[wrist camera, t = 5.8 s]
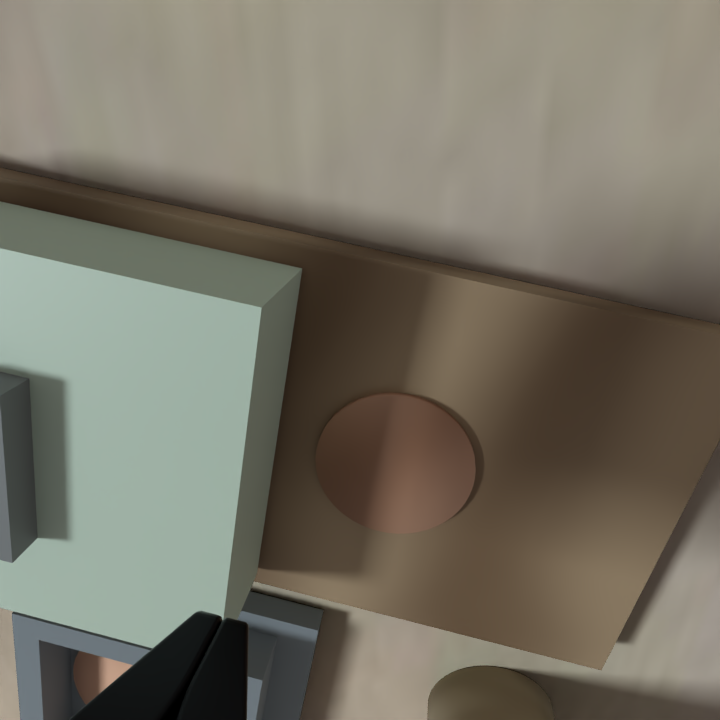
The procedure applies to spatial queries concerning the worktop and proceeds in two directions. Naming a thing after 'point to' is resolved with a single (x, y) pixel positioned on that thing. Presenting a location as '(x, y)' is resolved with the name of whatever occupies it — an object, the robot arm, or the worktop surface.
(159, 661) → the robot arm
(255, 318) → the cover
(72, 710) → the blue-grey square tray
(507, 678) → the peg
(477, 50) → the worktop surface
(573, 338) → the board
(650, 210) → the worktop surface
